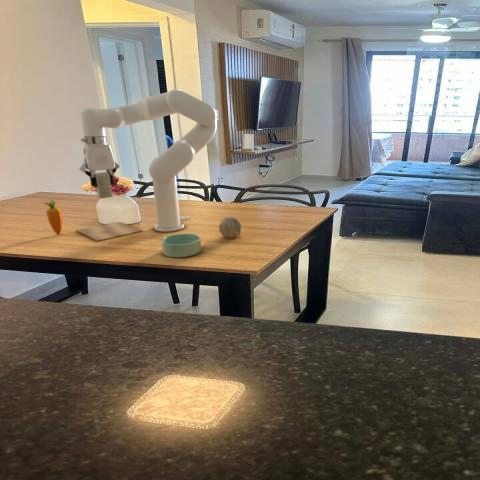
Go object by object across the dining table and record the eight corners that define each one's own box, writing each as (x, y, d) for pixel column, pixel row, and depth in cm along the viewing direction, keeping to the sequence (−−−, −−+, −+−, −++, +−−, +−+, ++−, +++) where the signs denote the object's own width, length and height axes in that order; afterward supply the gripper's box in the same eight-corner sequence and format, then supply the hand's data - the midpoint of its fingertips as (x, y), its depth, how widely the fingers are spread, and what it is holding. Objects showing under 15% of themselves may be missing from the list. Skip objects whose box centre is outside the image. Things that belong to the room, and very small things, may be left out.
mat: (119, 222, 177) (119, 221, 177) (141, 231, 165) (141, 230, 165) (77, 231, 164) (77, 230, 164) (97, 241, 152) (97, 240, 152)
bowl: (188, 243, 152) (187, 231, 151) (208, 251, 144) (207, 238, 143) (155, 252, 142) (154, 239, 141) (176, 261, 134) (174, 247, 133)
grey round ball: (241, 242, 162) (248, 222, 158) (224, 243, 155) (231, 222, 152) (229, 231, 167) (235, 211, 163) (212, 232, 160) (218, 211, 157)
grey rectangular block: (109, 195, 162) (106, 171, 159) (112, 197, 159) (109, 173, 156) (96, 196, 159) (92, 172, 156) (99, 198, 156) (95, 174, 153)
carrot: (58, 237, 156) (51, 201, 151) (48, 236, 157) (40, 200, 152) (68, 233, 160) (61, 198, 156) (58, 232, 161) (51, 197, 156)
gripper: (76, 142, 143) (84, 189, 149) (122, 140, 156) (128, 184, 162) (68, 141, 148) (76, 187, 153) (113, 139, 161) (119, 182, 166)
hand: (102, 185), depth 158 cm, fingers closed on grey rectangular block, 5 cm apart
